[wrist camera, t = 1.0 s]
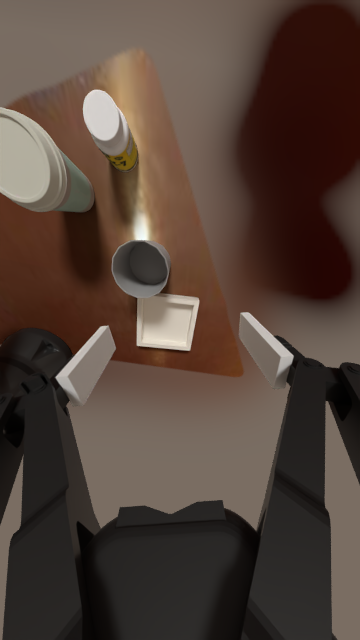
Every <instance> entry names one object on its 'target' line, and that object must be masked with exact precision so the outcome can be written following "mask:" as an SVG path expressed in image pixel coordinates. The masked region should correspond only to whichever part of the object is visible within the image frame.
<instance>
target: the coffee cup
mask: <svg viewBox="0 0 360 640" xmlns="http://www.w3.org/2000/svg"><path fill="white" fill-rule="evenodd" d="M0 192H1V193H2V194H4V195H5V196H7V197H8V198H9V199H11V200H12V201H14V202H15V203H17V204H18V205H20V206H22V207H25V208H27V209H29V210H32V211H37V212H47V211H50V210H56V211H69V212H86V211H88V210H90V209H91V207H92V206H93V204H94V198H95V196H94V190H93V187H92V185H91V183H90V181H89V180H88V178H87V177H86V176H85V175H84V174H83V173H82V172H81V171H80V170H79V169H78V168H77V167H76V166H75V165H74V164H73V163H72V162H71V161H70V160H69V159H68V158H67V157H66V155H65V154H64V153H63V152H62V151H61V150H60V149H59V148H58V147H57V146H56V145H55V143H54V142H53V140H52V139H51V137H50V136H49V135H48V134H47V133H46V131H45V130H44V129H43V128H42V127H41V126H39V125H38V124H37V123H36V122H34V121H33V120H31V119H30V118H28V117H26V116H24V115H23V114H21V113H18V112H16V111H13V110H8V109H4V108H1V107H0Z"/></svg>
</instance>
